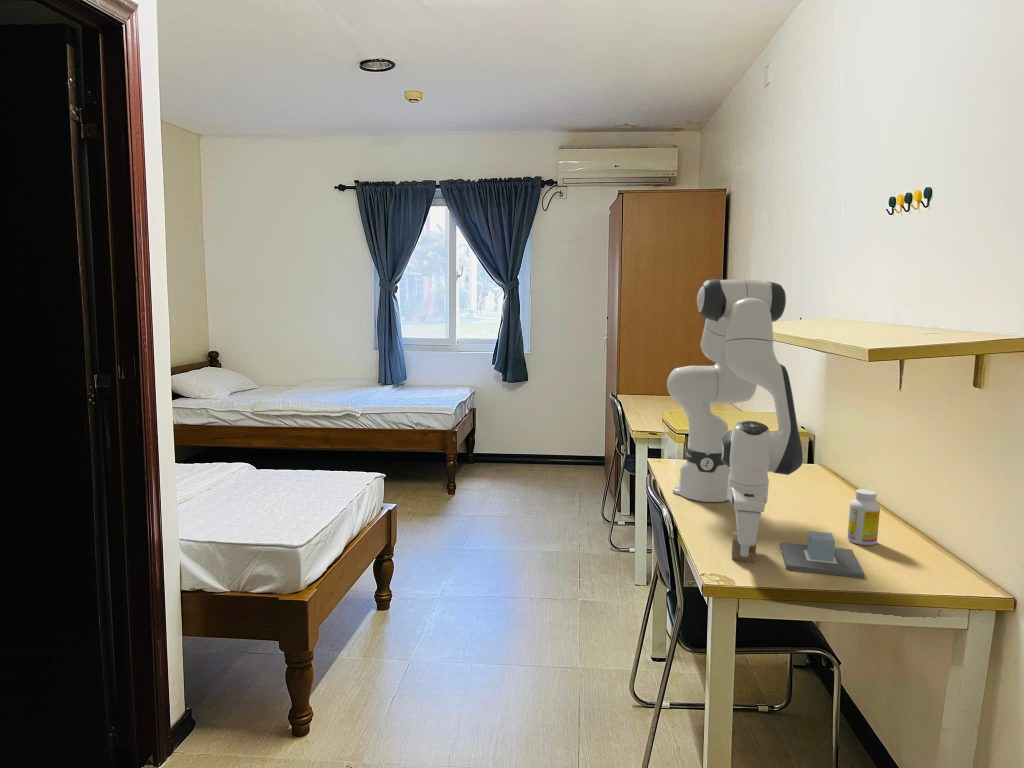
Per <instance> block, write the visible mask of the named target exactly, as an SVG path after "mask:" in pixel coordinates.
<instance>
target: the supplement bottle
mask: <svg viewBox="0 0 1024 768" xmlns="http://www.w3.org/2000/svg"><path fill="white" fill-rule="evenodd" d="M877 493H878V492H876V491H874V490H871V489H866V488H858V489H856V490H855V499H852V500H851V501H850V504H849V511H848V512H849V514H848V525H847V539H848V541H850V542H851V543H853V544H856V545H858V546H859V545H860V546H870V547H871V546H874V545H876V544H877V543H878V537H879V536H878V534H879V525H880V524H879V522H880V514H881V506H880V504H879V503H878V502H877V501H876V499H877Z"/></svg>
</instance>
